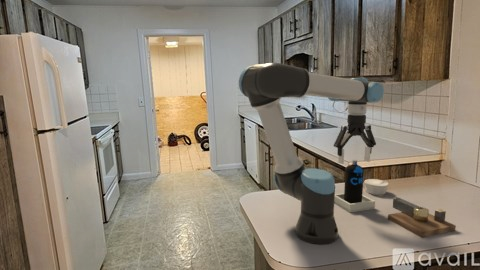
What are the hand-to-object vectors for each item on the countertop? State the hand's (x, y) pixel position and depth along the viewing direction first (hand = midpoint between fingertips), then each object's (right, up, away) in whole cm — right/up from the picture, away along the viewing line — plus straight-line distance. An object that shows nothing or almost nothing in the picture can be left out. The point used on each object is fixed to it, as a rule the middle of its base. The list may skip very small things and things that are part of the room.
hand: (354, 162), depth 136 cm
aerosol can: (+1, -19, +3) cm, 19 cm away
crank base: (+19, -23, -17) cm, 34 cm away
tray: (+1, -20, +3) cm, 20 cm away
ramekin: (+19, -17, +20) cm, 32 cm away
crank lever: (+18, -20, -12) cm, 29 cm away
